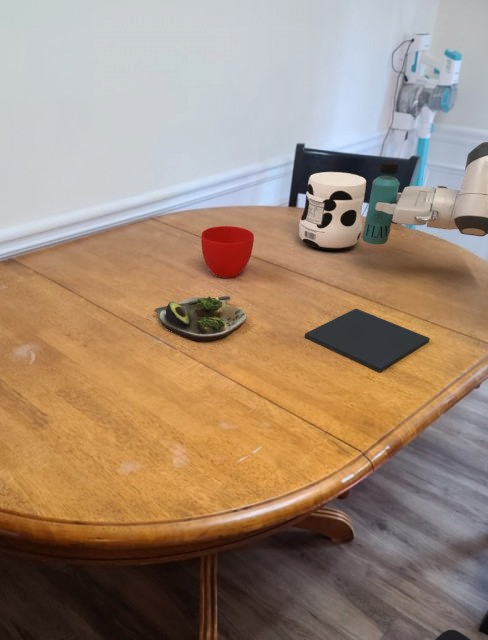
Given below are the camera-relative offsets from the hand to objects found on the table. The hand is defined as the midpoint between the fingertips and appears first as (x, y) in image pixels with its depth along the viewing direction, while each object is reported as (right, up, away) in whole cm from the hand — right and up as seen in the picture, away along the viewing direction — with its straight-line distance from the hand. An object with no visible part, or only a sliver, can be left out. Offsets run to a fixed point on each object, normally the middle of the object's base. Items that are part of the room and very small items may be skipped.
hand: (378, 201), depth 137 cm
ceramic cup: (-36, -15, +9) cm, 40 cm away
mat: (-9, -36, -20) cm, 42 cm away
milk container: (-6, -3, +26) cm, 27 cm away
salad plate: (-44, -32, -15) cm, 56 cm away
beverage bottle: (+1, -9, +6) cm, 11 cm away
